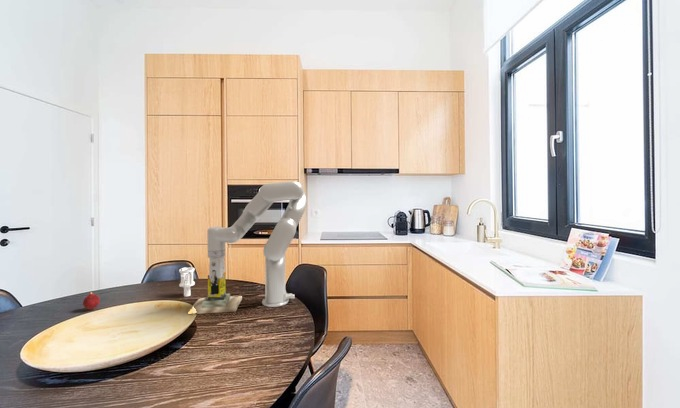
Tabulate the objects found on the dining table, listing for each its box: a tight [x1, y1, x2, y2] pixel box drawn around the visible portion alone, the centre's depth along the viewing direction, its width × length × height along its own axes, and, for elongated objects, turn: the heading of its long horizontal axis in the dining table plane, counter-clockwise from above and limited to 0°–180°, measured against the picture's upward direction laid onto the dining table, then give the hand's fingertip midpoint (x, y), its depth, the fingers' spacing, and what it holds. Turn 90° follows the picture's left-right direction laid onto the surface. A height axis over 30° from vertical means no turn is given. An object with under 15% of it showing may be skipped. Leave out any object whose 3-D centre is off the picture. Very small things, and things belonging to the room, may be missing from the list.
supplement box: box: [207, 271, 227, 299], centre depth 133 cm, size 6×6×11 cm
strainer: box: [178, 267, 196, 298], centre depth 147 cm, size 7×7×15 cm
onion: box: [82, 291, 101, 311], centre depth 129 cm, size 6×6×8 cm
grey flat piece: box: [192, 293, 243, 315], centre depth 133 cm, size 20×16×4 cm
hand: (217, 290), depth 133 cm, fingers closed on supplement box, 6 cm apart
